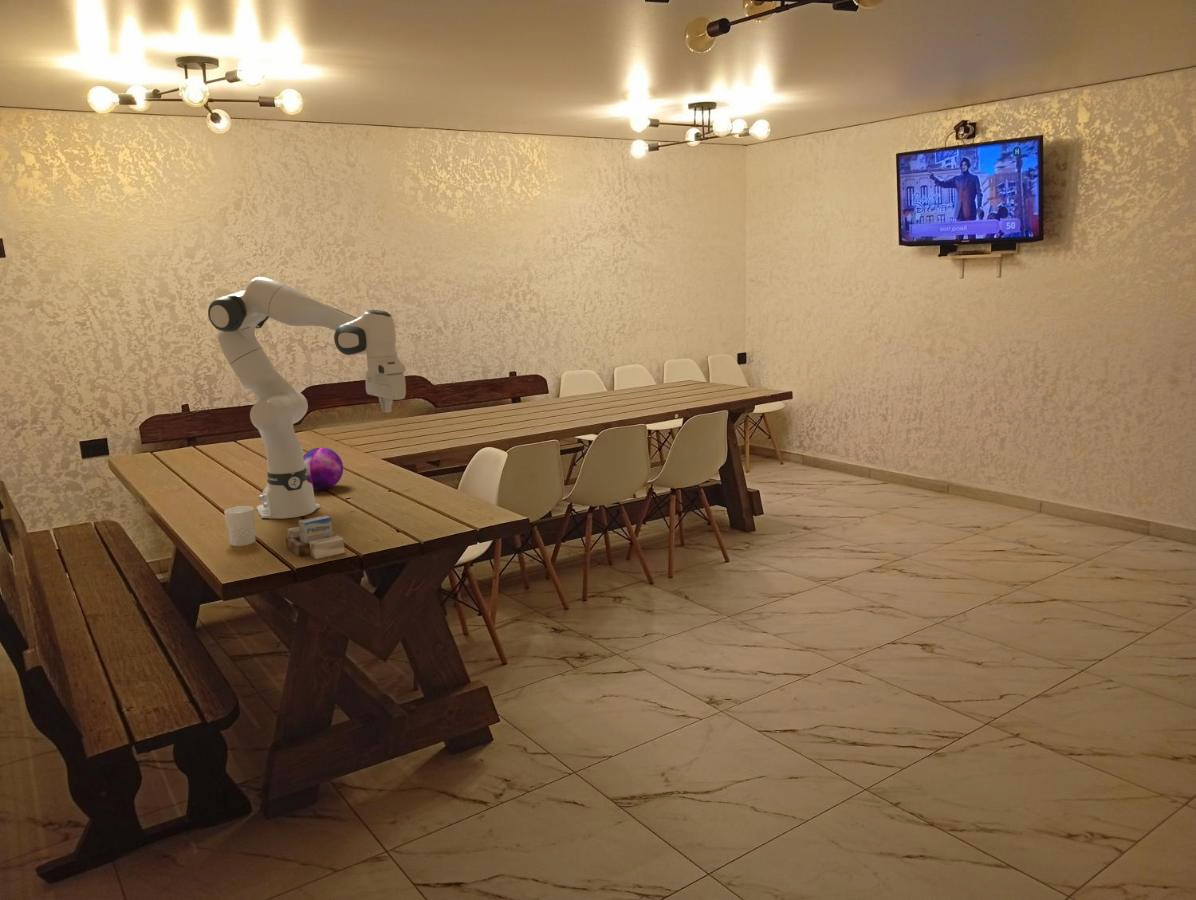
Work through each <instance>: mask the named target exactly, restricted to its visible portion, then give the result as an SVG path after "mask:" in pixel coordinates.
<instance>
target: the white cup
mask: <svg viewBox="0 0 1196 900" xmlns="http://www.w3.org/2000/svg"><path fill="white" fill-rule="evenodd" d="M224 518H225V523H226V529H227V534H228V536H229V544H230V545H231V546H233V547H243V546H248V545H249V544H250V545H252V544H254V543H256V521H255V509H254V506H251V505H241V506H240V505H239V506H234V507H229V508H227V509H225V510H224Z"/></svg>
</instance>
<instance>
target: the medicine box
mask: <svg viewBox="0 0 1196 900" xmlns="http://www.w3.org/2000/svg"><path fill="white" fill-rule="evenodd" d="M297 523H298V527H299V531H300V539H301V543H302V544H303V543H308V542H311V541H315V540H320V539H324V538H329V537H333V536H334V532H333V524H332V523H333V522H332V518H331V517H330V516H328V515H326V514H325V515H320V516H315V517H311V518H306V519H301V520H298V522H297Z"/></svg>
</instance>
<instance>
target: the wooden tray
mask: <svg viewBox="0 0 1196 900" xmlns="http://www.w3.org/2000/svg"><path fill="white" fill-rule="evenodd" d="M287 535H288V537H286V538H285V541H286V549H287V548H288V549H287V550H288V551H290V550H291V551H290V552H292V553H293V552H294V554H295V555H296V554H297V556H298V557H304V556H308V555H310V556H311V557H312V558H314V559H316V560H319V559H323V558H327V557H332V556H336V555H340V554H343V553H344V554H345V544H344V538H343V537H341V536H339V535H333V537H329V538H324V539H320V540H315V541H311V542H308V543H303V544H302V543H301V539H300V531H299V526H296V527H291V528H287Z"/></svg>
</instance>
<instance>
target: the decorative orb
mask: <svg viewBox="0 0 1196 900" xmlns="http://www.w3.org/2000/svg"><path fill="white" fill-rule="evenodd" d="M303 456H304V466H305V468H306V471H307V481H308V482H309V483H311V484H312V486H313V490H320V491H323V490H329V489H330V488H333V487H334V486H336V485H337V484H338V483H339V482H340V480H341V479H342V476H343V473H344V464H343V460H342V458H341V457H340V455H339V454H338V453H337V452H336V451H334V450H332V449H330V448H327V447H315V448H313V449H311V450H308V451H307V452H306V453H305V454H303Z"/></svg>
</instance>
